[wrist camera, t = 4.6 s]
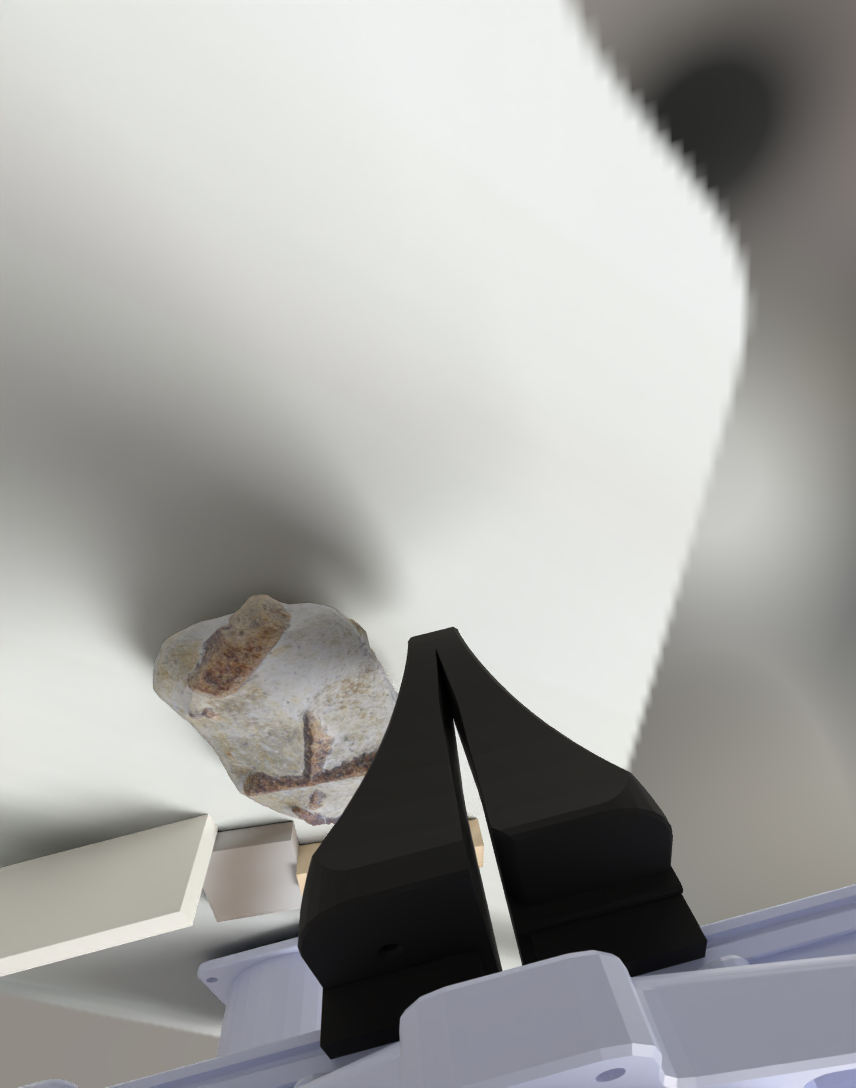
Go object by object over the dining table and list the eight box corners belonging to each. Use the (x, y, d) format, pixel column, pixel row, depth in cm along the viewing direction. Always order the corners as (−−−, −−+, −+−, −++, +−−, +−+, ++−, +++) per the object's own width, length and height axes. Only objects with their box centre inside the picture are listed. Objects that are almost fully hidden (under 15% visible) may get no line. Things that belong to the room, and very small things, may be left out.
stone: (451, 737, 19) (462, 802, 16) (286, 798, 19) (274, 868, 17) (333, 547, 14) (325, 602, 12) (121, 638, 15) (74, 706, 12)
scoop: (478, 794, 21) (484, 820, 20) (476, 861, 23) (482, 888, 22) (194, 835, 20) (185, 866, 19) (221, 901, 22) (214, 932, 21)
